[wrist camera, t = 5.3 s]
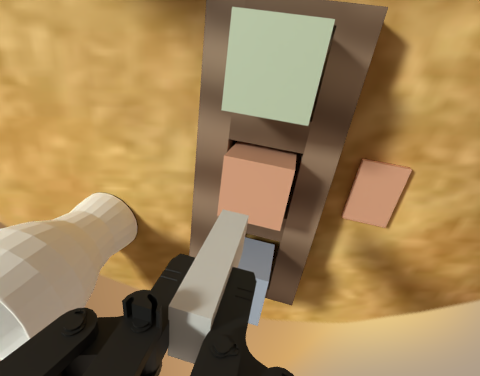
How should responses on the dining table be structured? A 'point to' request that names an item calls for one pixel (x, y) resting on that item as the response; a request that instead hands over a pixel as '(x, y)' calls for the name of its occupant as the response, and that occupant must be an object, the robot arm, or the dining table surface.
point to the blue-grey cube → (257, 272)
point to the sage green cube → (274, 64)
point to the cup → (56, 264)
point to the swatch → (375, 192)
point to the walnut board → (283, 127)
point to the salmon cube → (257, 183)
